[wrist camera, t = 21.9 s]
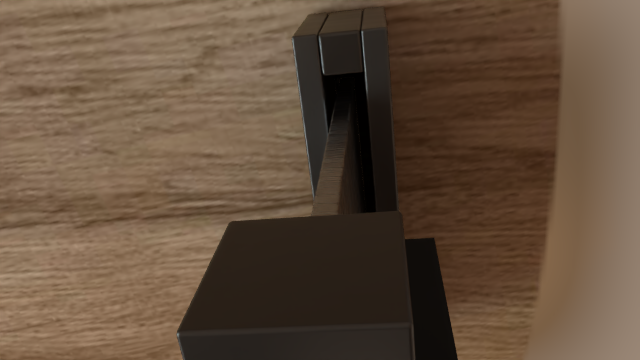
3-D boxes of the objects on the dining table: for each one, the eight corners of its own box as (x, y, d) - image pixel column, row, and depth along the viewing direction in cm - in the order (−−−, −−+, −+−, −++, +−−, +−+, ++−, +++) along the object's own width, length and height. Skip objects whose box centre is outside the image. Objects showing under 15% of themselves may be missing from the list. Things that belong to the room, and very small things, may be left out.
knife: (305, 63, 15) (174, 333, 5) (385, 54, 15) (413, 324, 5) (338, 326, 19) (299, 789, 9) (403, 323, 19) (441, 798, 9)
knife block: (307, 14, 16) (291, 36, 13) (384, 6, 16) (387, 27, 13) (344, 323, 21) (339, 396, 17) (405, 321, 20) (411, 394, 17)
